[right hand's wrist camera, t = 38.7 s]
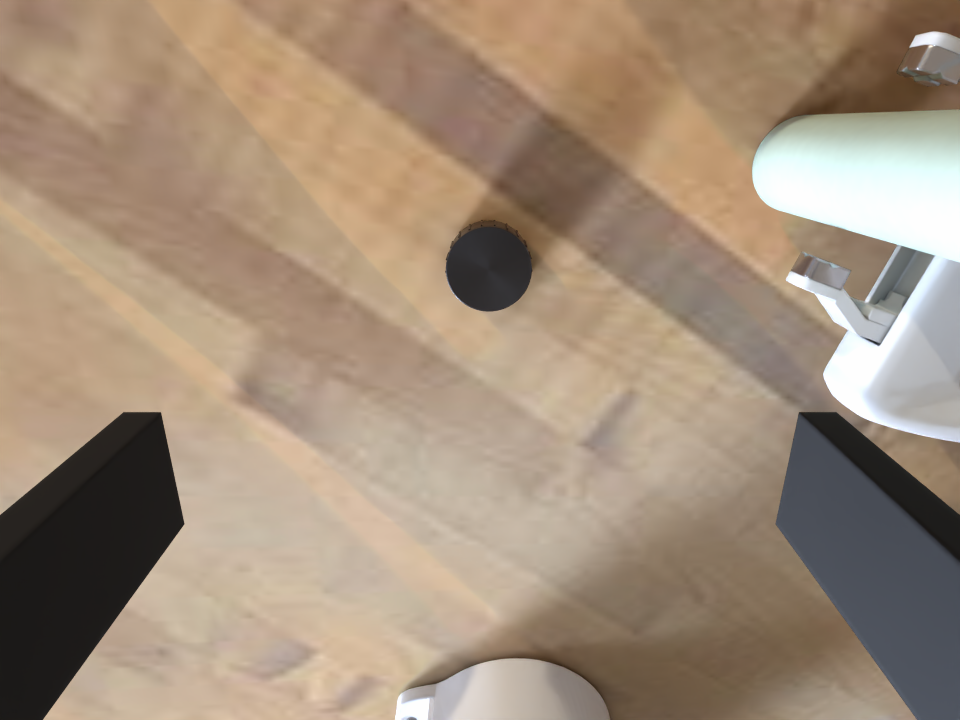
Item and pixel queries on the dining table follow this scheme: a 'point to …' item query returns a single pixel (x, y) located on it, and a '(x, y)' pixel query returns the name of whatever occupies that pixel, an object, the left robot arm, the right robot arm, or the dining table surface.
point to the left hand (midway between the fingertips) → (852, 166)
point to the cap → (488, 266)
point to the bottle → (869, 175)
